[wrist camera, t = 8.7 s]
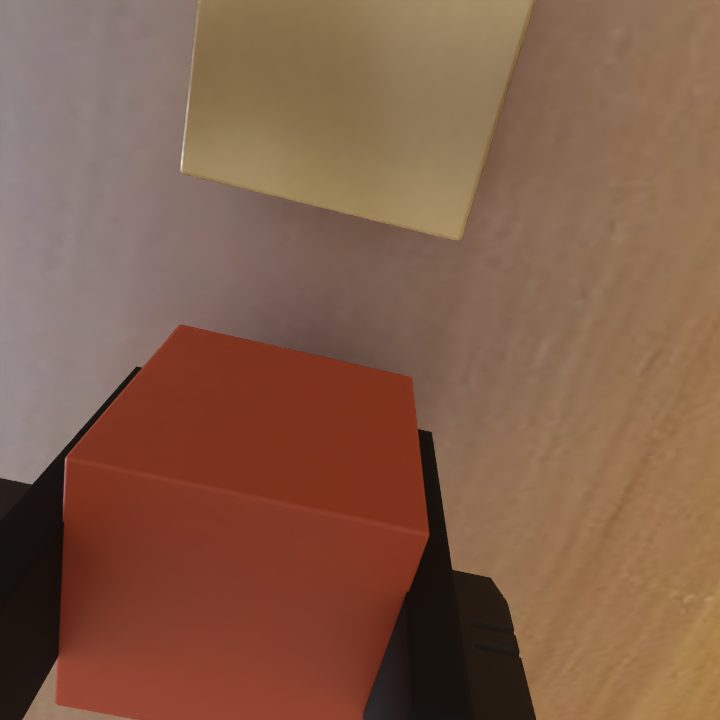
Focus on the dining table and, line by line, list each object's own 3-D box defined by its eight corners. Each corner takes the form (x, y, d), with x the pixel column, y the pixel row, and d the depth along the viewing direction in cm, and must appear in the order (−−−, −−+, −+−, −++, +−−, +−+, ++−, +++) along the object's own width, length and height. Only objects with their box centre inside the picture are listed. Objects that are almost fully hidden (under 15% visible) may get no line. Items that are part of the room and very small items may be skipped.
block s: (179, 322, 12) (63, 456, 8) (413, 376, 13) (431, 534, 8) (156, 512, 14) (52, 706, 10) (358, 553, 15) (349, 760, 10)
